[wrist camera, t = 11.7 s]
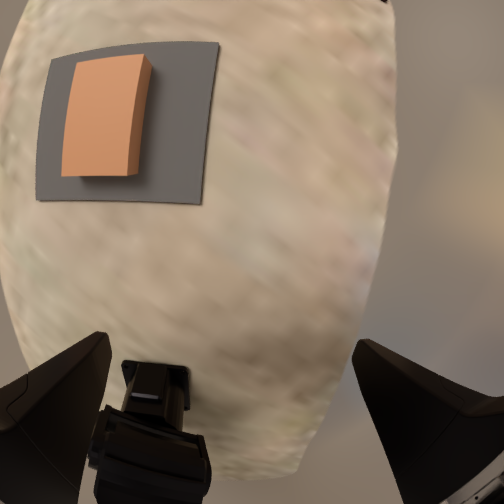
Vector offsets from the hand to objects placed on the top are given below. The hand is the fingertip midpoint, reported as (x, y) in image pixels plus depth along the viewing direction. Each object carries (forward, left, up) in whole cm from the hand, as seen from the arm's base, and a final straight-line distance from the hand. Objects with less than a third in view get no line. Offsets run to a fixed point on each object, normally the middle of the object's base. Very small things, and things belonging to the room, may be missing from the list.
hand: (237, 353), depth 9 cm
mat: (+9, +9, -12) cm, 17 cm away
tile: (+9, +9, -12) cm, 17 cm away
